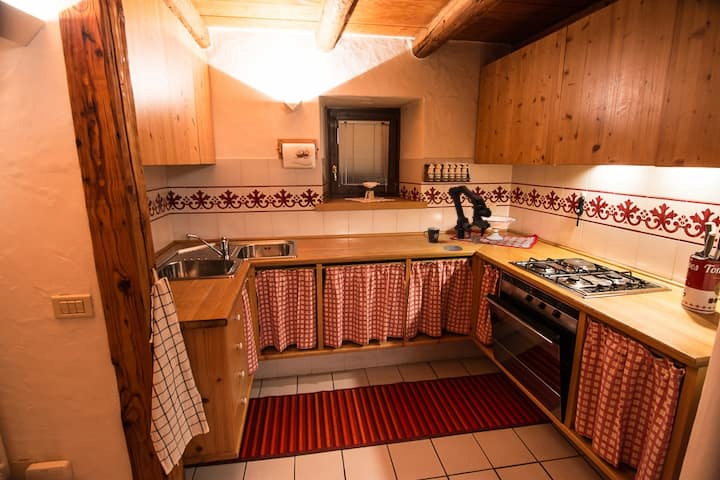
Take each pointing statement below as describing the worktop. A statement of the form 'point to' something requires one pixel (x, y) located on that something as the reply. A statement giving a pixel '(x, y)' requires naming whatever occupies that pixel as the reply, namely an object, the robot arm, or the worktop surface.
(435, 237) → the coffee mug
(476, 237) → the block
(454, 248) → the coaster
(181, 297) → the worktop surface
